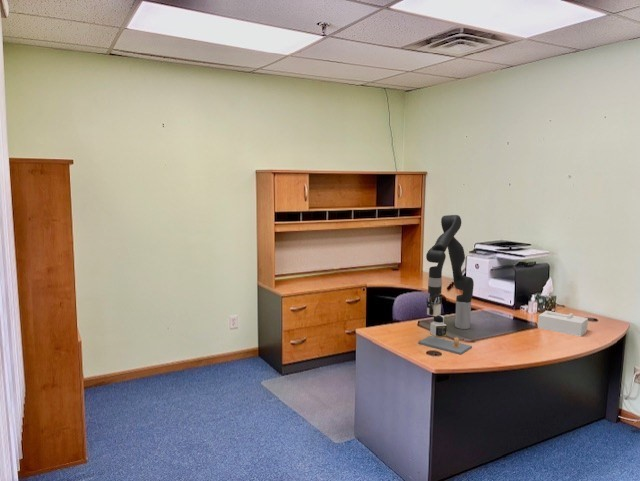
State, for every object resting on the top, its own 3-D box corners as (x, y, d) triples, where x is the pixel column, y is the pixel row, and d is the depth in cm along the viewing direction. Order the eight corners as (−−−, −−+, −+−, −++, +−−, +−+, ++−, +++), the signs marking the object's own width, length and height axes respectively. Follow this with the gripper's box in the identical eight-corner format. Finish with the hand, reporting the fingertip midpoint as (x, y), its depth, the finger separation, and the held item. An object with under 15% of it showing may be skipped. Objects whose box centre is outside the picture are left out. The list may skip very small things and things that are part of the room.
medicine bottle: (435, 337, 286) (436, 317, 284) (430, 333, 293) (430, 314, 291) (446, 336, 288) (447, 317, 286) (440, 332, 295) (441, 313, 293)
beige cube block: (431, 312, 278) (432, 302, 277) (440, 314, 274) (440, 304, 273) (427, 314, 274) (427, 304, 273) (435, 316, 270) (436, 306, 269)
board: (430, 337, 285) (430, 327, 284) (471, 348, 268) (472, 337, 267) (418, 343, 275) (418, 333, 274) (460, 354, 257) (461, 343, 257)
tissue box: (580, 337, 289) (582, 319, 287) (537, 328, 306) (538, 311, 304) (586, 331, 299) (588, 314, 298) (545, 323, 316) (546, 307, 315)
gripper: (435, 282, 280) (434, 310, 282) (422, 286, 269) (421, 315, 271) (446, 284, 275) (445, 312, 277) (434, 288, 264) (433, 317, 266)
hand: (433, 313), depth 274 cm, fingers closed on beige cube block, 5 cm apart
